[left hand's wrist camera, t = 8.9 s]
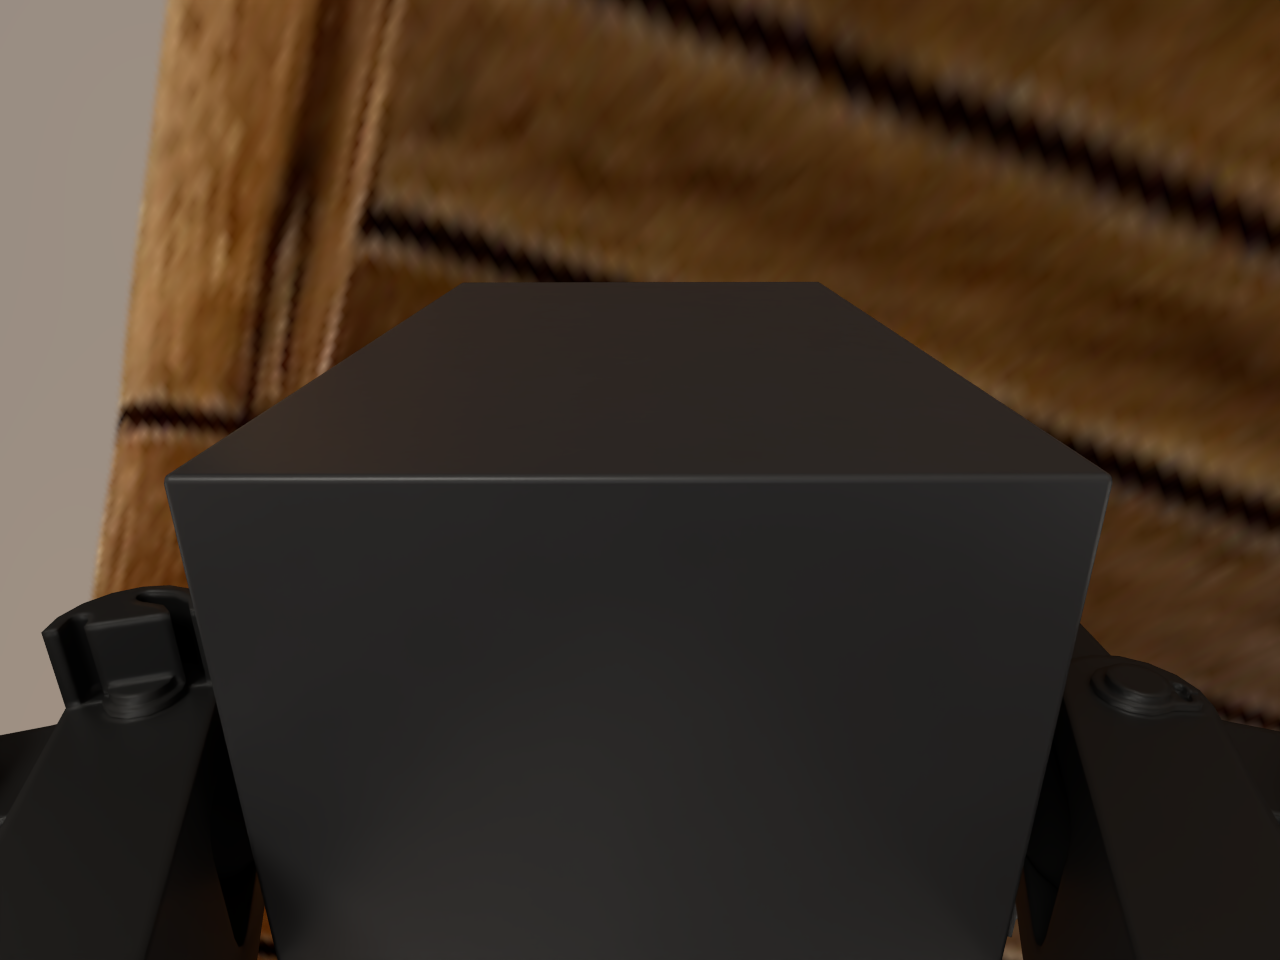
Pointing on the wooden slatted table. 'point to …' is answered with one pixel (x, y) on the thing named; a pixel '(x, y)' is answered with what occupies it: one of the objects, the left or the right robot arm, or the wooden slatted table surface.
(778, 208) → the wooden slatted table surface
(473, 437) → the box
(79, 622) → the left robot arm
